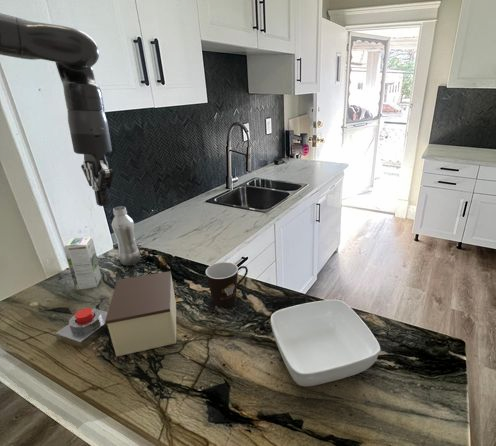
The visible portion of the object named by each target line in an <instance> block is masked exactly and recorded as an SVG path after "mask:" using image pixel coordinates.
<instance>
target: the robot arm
mask: <svg viewBox="0 0 496 446" xmlns="http://www.w3.org/2000/svg"><path fill="white" fill-rule="evenodd" d="M0 55H1V56H6V57H11V58H14V59H15V58H16V59H22V60H28V61H29V60H31V61H35V60H36V61H37V60H44V61H48V62H52V63H53V62H54V63H55V66H56V70H57V72H58V76H59V78H60V81H61V83H62V87H63V88H62V89H63V97H64V101H65V106H66V110H67V124H68V128H69V134H70V139H71V144H72V148H73V149H72V150H73V153H75V154H77V155H83V163H82V164H81V165H80V168H81V170H82V171H83V174H84V176H85V178H86V181H87V183H88V186H89V187H91V189H92V190H93V191H94V196H95V202H96V205H97V206H99V207H105V206H109V204H110V202H109V196H108V190H110V189H111V188H112V184H113V183H112V182H113V177H114V170H113V168H110V167H109V162H108V160H107V158H106V154H111V153H112V151H113V148H112V142H111V134H110V128H109V123H108V118H107V116H106V111H105V105H104V98H103V94H102V90H101V88H100V86H99V84H97V82H96V78H95V73H94V69H93V66H94V65H95V64H96V63H97V62H98V60H99V58H100V49H99V47H98V45H97V43H96V41H95V40H94V38H93V37H91V36H90V35H89V34H87V33H86V32H84V31H82V30H79V29H76V28H74V27H69V26H64V25H60V24H54V23H53V24H52V23H45V22H38V21H32V20H27V19H24V18H20V17H18V16H13V15H10V14H5V13H3V12H2V13H1V12H0Z"/></svg>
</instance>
